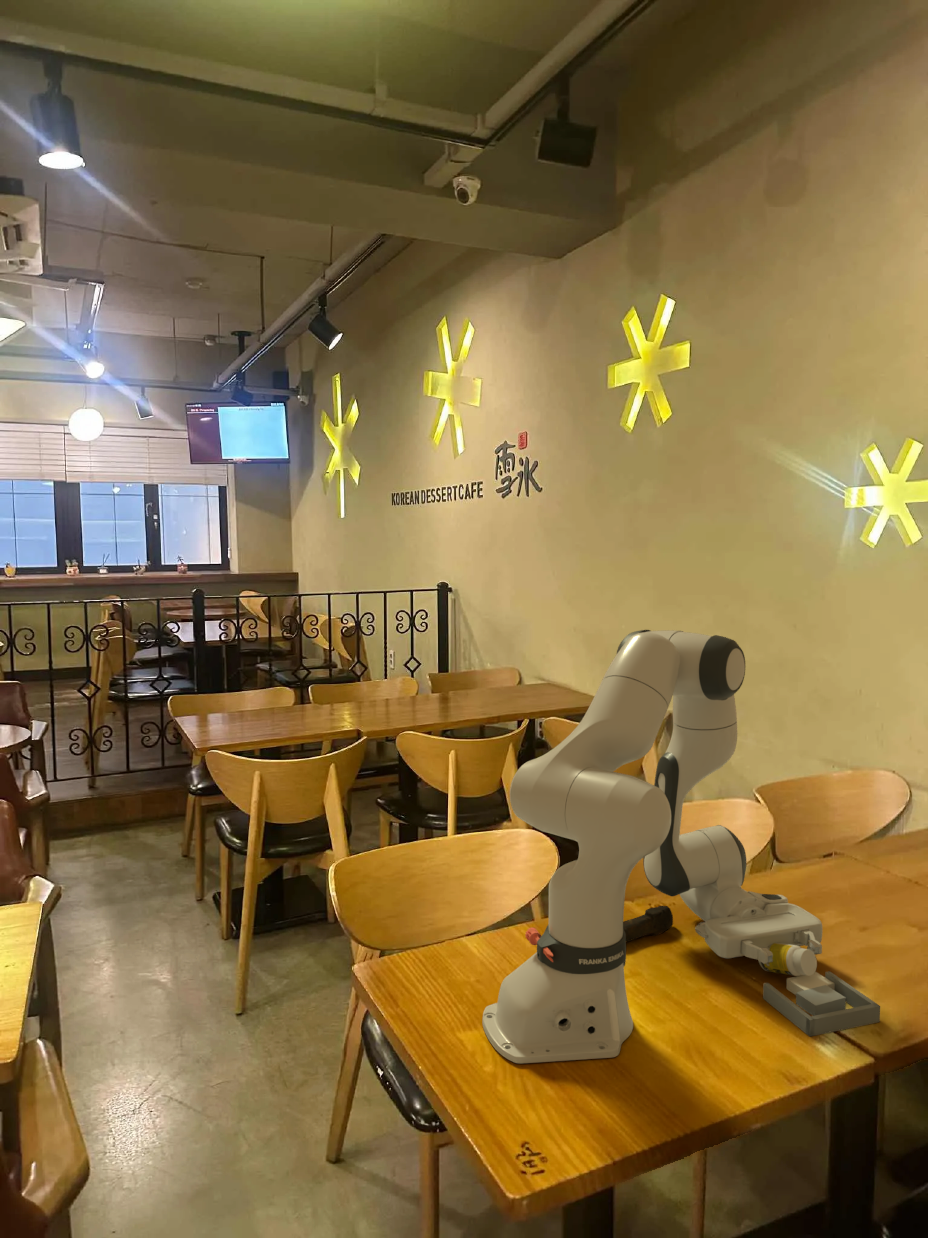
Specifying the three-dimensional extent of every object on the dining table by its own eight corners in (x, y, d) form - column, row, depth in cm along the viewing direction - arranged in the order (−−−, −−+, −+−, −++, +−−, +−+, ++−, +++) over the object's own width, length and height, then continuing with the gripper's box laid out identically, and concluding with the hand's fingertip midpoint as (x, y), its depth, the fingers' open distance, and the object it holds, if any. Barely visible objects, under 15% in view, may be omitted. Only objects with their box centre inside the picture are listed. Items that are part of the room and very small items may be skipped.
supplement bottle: (757, 972, 138) (800, 979, 131) (755, 942, 139) (797, 947, 132) (777, 970, 140) (820, 977, 133) (775, 941, 142) (817, 946, 134)
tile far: (805, 1004, 130) (805, 991, 130) (786, 992, 134) (786, 978, 133) (834, 996, 132) (834, 983, 132) (815, 984, 136) (815, 971, 136)
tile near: (815, 1019, 126) (815, 1005, 125) (795, 1006, 129) (796, 992, 129) (845, 1011, 128) (845, 997, 128) (825, 998, 131) (825, 985, 131)
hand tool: (600, 957, 145) (600, 932, 144) (586, 947, 148) (587, 922, 148) (682, 934, 153) (683, 909, 153) (667, 925, 157) (668, 901, 157)
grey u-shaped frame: (809, 1036, 121) (810, 1020, 120) (763, 998, 131) (763, 983, 131) (879, 1022, 124) (880, 1006, 124) (829, 986, 134) (829, 971, 134)
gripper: (690, 908, 143) (738, 945, 130) (790, 893, 149) (846, 927, 136) (689, 943, 143) (737, 983, 130) (789, 927, 149) (844, 964, 136)
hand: (793, 954), depth 133 cm, fingers open, 8 cm apart
